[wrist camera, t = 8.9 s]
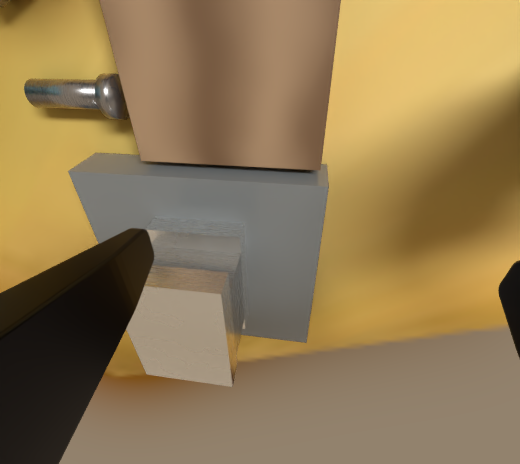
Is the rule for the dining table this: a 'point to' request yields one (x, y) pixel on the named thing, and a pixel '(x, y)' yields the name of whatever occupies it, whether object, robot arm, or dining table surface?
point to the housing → (192, 301)
